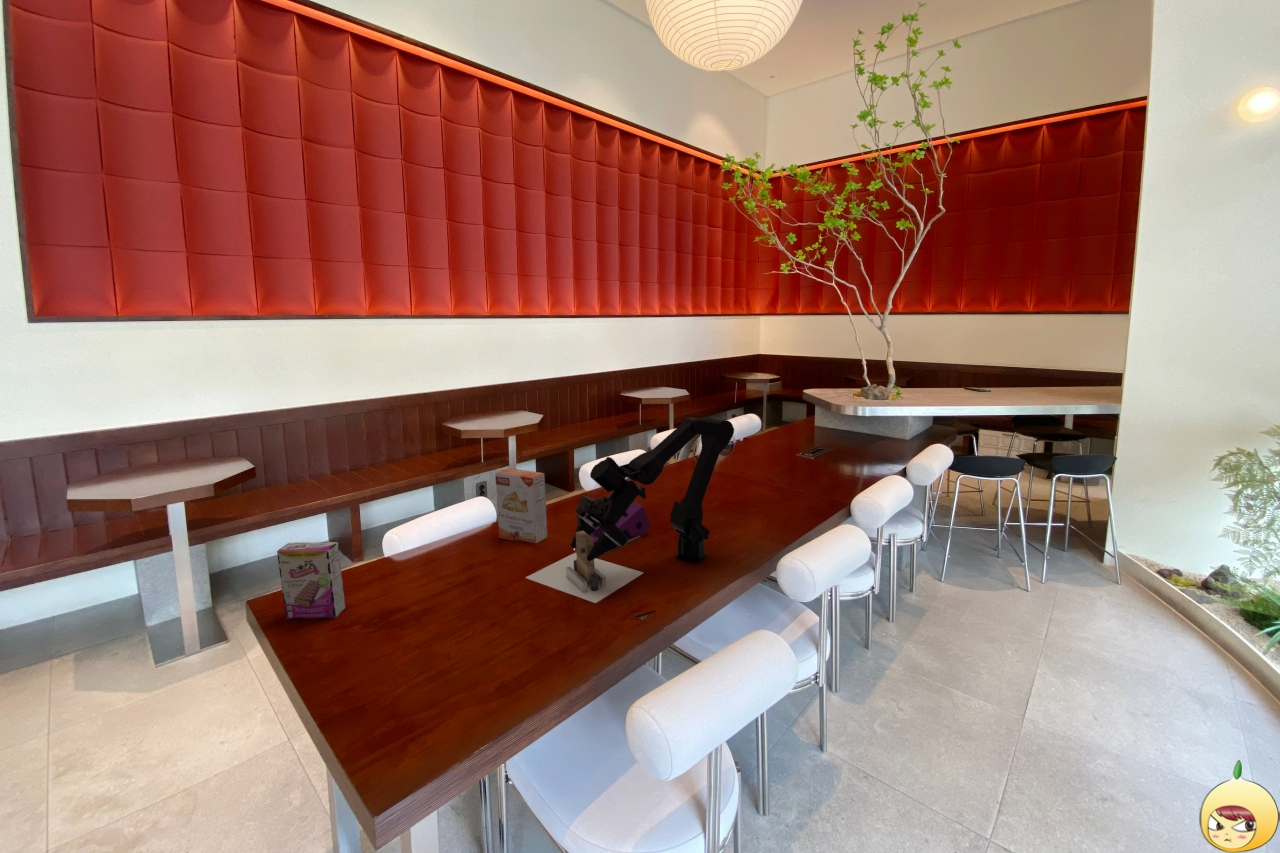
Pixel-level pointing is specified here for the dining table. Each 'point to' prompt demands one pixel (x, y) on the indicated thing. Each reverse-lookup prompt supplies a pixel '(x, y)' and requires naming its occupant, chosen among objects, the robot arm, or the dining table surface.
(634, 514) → the mounting bracket
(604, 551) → the robot arm
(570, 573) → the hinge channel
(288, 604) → the candy bar box
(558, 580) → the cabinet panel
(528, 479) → the cracker box
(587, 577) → the wooden block
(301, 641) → the dining table surface
